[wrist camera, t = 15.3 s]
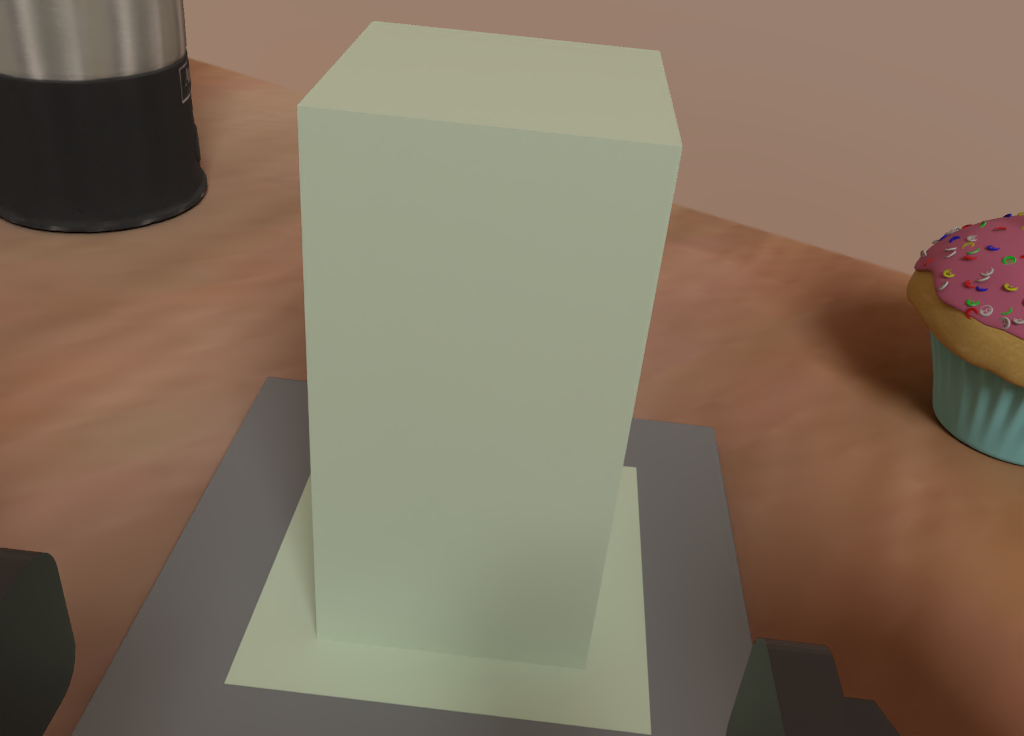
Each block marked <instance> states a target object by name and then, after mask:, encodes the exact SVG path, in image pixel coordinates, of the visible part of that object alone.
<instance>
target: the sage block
mask: <svg viewBox="0 0 1024 736" xmlns="http://www.w3.org/2000/svg"><path fill="white" fill-rule="evenodd" d="M297 114H298V141H299V168H300V195H301V222H302V249H303V276H304V303H305V330H306V357H307V384H308V411H309V438H310V465H311V492H312V519H313V546H314V573H315V600H316V627H317V639H324V640H332V641H341V642H350V643H358V644H367V645H376V646H384V647H393V648H402V649H410V650H419V651H427V652H436V653H445V654H453V655H462V656H471V657H479V658H488V659H497V660H505V661H514V662H523V663H531V664H540V665H548V666H557V667H566V668H574V669H583V670H585V667H586V662H587V656H588V651H589V646H590V640H591V635H592V630H593V624H594V619H595V614H596V608H597V603H598V598H599V592H600V587H601V581H602V576H603V571H604V565H605V560H606V555H607V549H608V544H609V539H610V533H611V528H612V523H613V517H614V512H615V506H616V501H617V496H618V490H619V485H620V480H621V474H622V469H623V464H624V458H625V453H626V448H627V442H628V437H629V431H630V426H631V421H632V415H633V410H634V405H635V399H636V394H637V389H638V383H639V378H640V373H641V367H642V362H643V356H644V351H645V346H646V340H647V335H648V330H649V324H650V319H651V314H652V308H653V303H654V298H655V292H656V287H657V281H658V276H659V271H660V265H661V260H662V255H663V249H664V244H665V239H666V233H667V228H668V223H669V217H670V212H671V206H672V201H673V196H674V190H675V185H676V180H677V174H678V169H679V164H680V158H681V153H682V148H683V146H682V142H681V138H680V134H679V129H678V125H677V121H676V117H675V113H674V109H673V105H672V100H671V96H670V92H669V88H668V84H667V80H666V76H665V71H664V67H663V63H662V59H661V55H660V51H654V50H644V49H635V48H626V47H617V46H606V45H597V44H588V43H578V42H569V41H559V40H550V39H540V38H531V37H520V36H512V35H502V34H492V33H483V32H473V31H464V30H454V29H445V28H435V27H426V26H416V25H405V24H397V23H388V22H378V21H373V22H372V23H371V24H370V25H369V26H368V27H367V28H366V29H365V31H364V32H363V33H362V34H361V35H360V36H359V37H358V38H357V40H356V41H355V42H354V43H353V44H352V45H351V46H350V47H349V49H348V50H347V51H346V52H345V53H344V54H343V55H342V56H341V57H340V58H339V60H338V61H337V62H336V63H335V64H334V65H333V66H332V67H331V69H330V70H329V71H328V72H327V73H326V74H325V75H324V76H323V78H322V79H321V80H320V81H319V82H318V83H317V84H316V85H315V86H314V87H313V89H312V90H311V91H310V92H309V93H308V94H307V95H306V96H305V97H304V99H303V100H302V101H301V102H300V103H299V104H298V105H297Z"/></svg>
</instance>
